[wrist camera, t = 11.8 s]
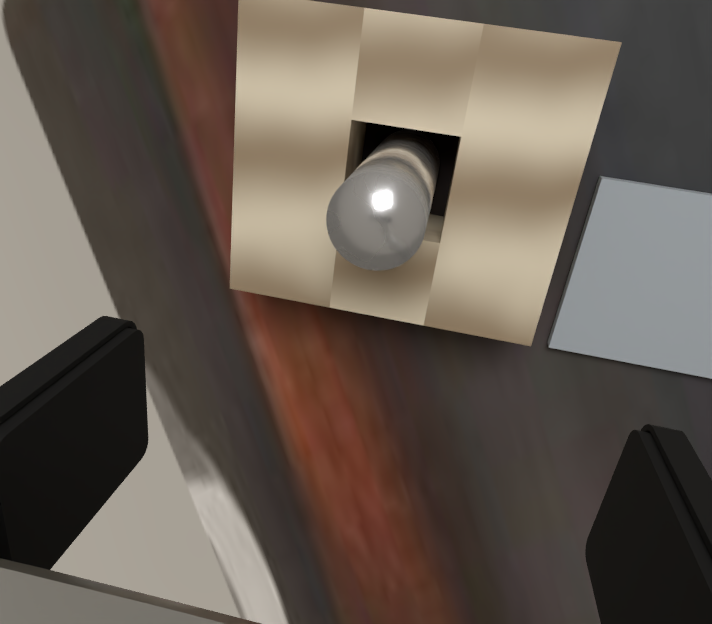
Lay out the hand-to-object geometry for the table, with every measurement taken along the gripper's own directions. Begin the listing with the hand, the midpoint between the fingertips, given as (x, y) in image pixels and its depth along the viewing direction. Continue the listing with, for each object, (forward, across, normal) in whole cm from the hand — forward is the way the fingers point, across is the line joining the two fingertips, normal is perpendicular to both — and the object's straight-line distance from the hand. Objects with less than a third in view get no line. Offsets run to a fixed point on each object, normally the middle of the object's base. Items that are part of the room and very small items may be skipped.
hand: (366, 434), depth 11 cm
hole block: (+23, +2, -1) cm, 23 cm away
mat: (+23, -13, +3) cm, 27 cm away
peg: (+23, +2, -1) cm, 23 cm away
